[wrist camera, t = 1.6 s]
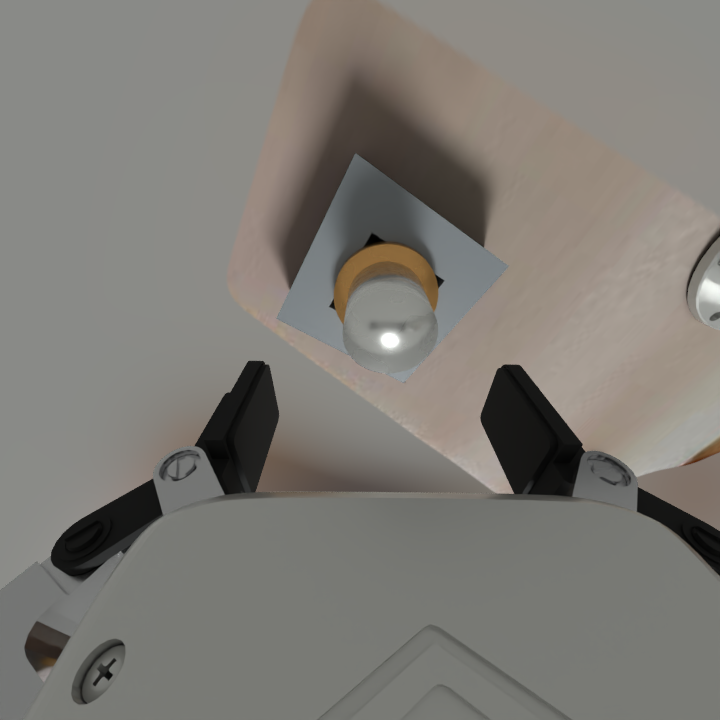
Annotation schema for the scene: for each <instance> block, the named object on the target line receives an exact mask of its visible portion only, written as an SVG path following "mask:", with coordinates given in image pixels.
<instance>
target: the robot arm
mask: <svg viewBox="0 0 720 720" xmlns="http://www.w3.org/2000/svg"><path fill="white" fill-rule="evenodd" d="M687 301H688V306H689V310H690V311H691V313H692V315H693V316H694V317H695V318H696V319H697V320H699V321H700V322H701V323H703V324H705V325H707V326H710V327H712V328H714V329H717V330H720V237H719V238H718V239H717V240H716V241H715V242H714V243H713V244H712V245H711V247H710V248H709V250H708V251H707V252H706V254H705V255H704V256H703V258H702V259H701V261H700V262H699V264H698V266H697V268H696V270H695V272H694V273H693V276H692V279H691V282H690V285H689V288H688V297H687ZM278 418H279V410H278V406H277V401H276V396H275V391H274V386H273V381H272V376H271V371H270V367H269V365H265V363H264V362H263V361H248V363H247V364H246V366H245V368H244V369H243V371H242V373H241V375H240V377H239V378H238V381H237V382H236V384H235V385H234V387H233V389H232V391H231V392H230V393H226V394H225V395H224V397H223V398H222V400H221V402H220V403H219V405H218V407H217V408H216V410H215V412H214V413H213V415H212V417H211V419H210V420H209V422H208V424H207V425H206V427H205V429H204V431H203V433H202V434H201V436H200V438H199V439H198V441H197V443H196V444H195V446H187V447H182V448H179V449H176V450H174V451H172V452H171V453H169V454H167V455H166V456H165V457H164V458H162V459H161V460H160V462H159V463H158V464H157V465H156V467H155V470H154V472H153V479H151V480H150V481H148V482H146V483H144V484H143V485H141V486H139V487H137V488H135V489H134V490H132V491H130V492H129V493H127V494H125V495H123V496H121V497H119V498H118V499H116V500H114V501H112V502H110V503H109V504H107V505H105V506H104V507H102V508H100V509H98V510H96V511H94V512H93V513H91V514H89V515H87V516H86V517H84V518H82V519H81V520H79V521H78V522H76V523H75V524H73V525H72V526H71V527H70V528H69V529H67V530H66V531H65V532H64V533H63V534H62V536H61V537H60V538H59V539H58V540H57V542H56V543H55V546H54V547H53V549H52V552H51V556H50V557H49V558H48V559H46V560H45V561H44V562H43V563H41V564H39V563H38V562H35V563H34V564H33V565H32V566H30V567H29V568H28V569H26V570H25V571H24V572H23V573H21V574H20V575H19V576H17V577H16V578H15V579H14V580H13V581H11V582H10V583H9V584H7V585H6V586H5V587H4V588H2V589H1V590H0V720H720V531H718V530H717V529H715V528H714V527H712V526H710V525H709V524H707V523H705V522H703V521H701V520H699V519H697V518H695V517H693V516H692V515H690V514H688V513H686V512H684V511H682V510H680V509H678V508H677V507H675V506H673V505H671V504H669V503H667V502H665V501H663V500H661V499H659V498H657V497H656V496H654V495H652V494H650V493H648V492H646V491H644V490H642V489H640V488H639V487H638V482H637V478H636V476H635V475H634V473H633V472H632V470H631V469H630V468H629V467H628V466H627V465H625V464H624V463H623V462H621V461H620V460H619V459H617V458H615V457H613V456H611V455H609V454H606V453H603V452H599V451H588V452H585V451H584V449H583V448H582V445H583V444H582V443H581V442H580V440H579V439H578V438H577V437H576V435H575V434H574V433H573V432H572V430H571V429H570V428H569V426H568V425H567V424H566V423H565V421H564V420H563V419H562V418H561V416H560V415H559V414H558V413H557V411H556V410H555V409H554V407H553V406H552V405H551V404H550V402H549V401H548V400H547V399H546V397H545V396H544V395H543V393H542V392H541V391H540V390H539V388H538V387H537V386H536V385H535V383H534V382H533V381H532V380H531V378H530V377H529V376H528V374H527V373H526V372H525V371H524V369H523V368H522V367H521V366H520V365H503V366H502V367H501V368H498V370H497V372H496V374H495V377H494V380H493V383H492V385H491V388H490V391H489V394H488V396H487V399H486V402H485V405H484V407H483V410H482V413H481V423H482V425H483V427H484V429H485V432H486V434H487V436H488V438H489V440H490V442H491V445H492V447H493V449H494V451H495V453H496V455H497V457H498V460H499V462H500V464H501V466H502V468H503V470H504V472H505V475H506V477H507V479H508V481H509V483H510V485H511V488H512V490H513V492H514V494H484V493H481V494H480V493H411V492H400V493H399V492H255V491H256V489H257V485H258V482H259V479H260V476H261V473H262V469H263V466H264V463H265V460H266V457H267V454H268V451H269V448H270V444H271V441H272V438H273V435H274V432H275V428H276V426H277V423H278Z"/></svg>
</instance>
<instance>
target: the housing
mask: <svg viewBox="0 0 720 720" xmlns="http://www.w3.org/2000/svg"><path fill="white" fill-rule="evenodd" d="M383 241H391V242H398V243H402V244H405V245H408V246H410V247H412V248H413V249H415V250H417V251H418V252H419V253H420V254H421V255H422V256H423V257H424V258H425V259H426V260H427V262H428V263H429V265H430V266H431V268H432V270H433V272H434V274H435V276H436V279H437V283H438V302H437V306H436V309H435V311H434V314H435V317H436V319H437V324H438V337H437V341H436V344H435V346H434V348H433V350H434V349H435V348H436V346H437V345H438V344H439V343H440V342H441V341H442V340H443V339H444V338H445V337H446V335H447V334H448V333H449V332H450V331H451V330H452V329H453V328H454V327H455V325H456V324H457V323H458V322H459V321H460V320H461V319H462V318H463V317H464V315H465V314H466V313H467V312H468V311H469V310H470V309H471V308H472V307H473V305H474V304H475V303H476V302H477V301H478V300H479V299H480V298H481V297H482V295H483V294H484V293H485V292H486V291H487V290H488V289H489V288H490V287H491V286H492V284H493V283H494V282H495V281H496V280H497V279H498V278H499V277H500V276H501V274H502V273H503V272H504V271H505V270H506V269H507V268H508V267H509V266H508V265H507V264H505V263H504V262H502V261H501V260H500V259H498V258H497V257H496V256H494V255H493V254H492V253H490V252H489V251H488V250H486V249H485V248H484V247H482V246H481V245H480V244H478V243H477V242H476V241H474V240H473V239H472V238H470V237H469V236H467V235H466V234H465V233H463V232H462V231H461V230H459V229H458V228H457V227H455V226H454V225H453V224H451V223H450V222H448V221H447V220H446V219H444V218H443V217H442V216H440V215H439V214H438V213H436V212H435V211H434V210H432V209H431V208H430V207H428V206H427V205H425V204H424V203H423V202H421V201H420V200H419V199H417V198H416V197H415V196H413V195H412V194H411V193H409V192H408V191H406V190H405V189H404V188H402V187H401V186H400V185H398V184H397V183H396V182H394V181H393V180H392V179H390V178H389V177H388V176H386V175H385V174H383V173H382V172H381V171H379V170H378V169H377V168H375V167H374V166H373V165H371V164H370V163H369V162H367V161H366V160H364V159H363V158H362V157H360V156H359V155H358V154H356V153H355V155H354V157H353V159H352V161H351V163H350V165H349V167H348V169H347V172H346V174H345V176H344V178H343V180H342V182H341V184H340V186H339V188H338V190H337V193H336V195H335V197H334V199H333V201H332V203H331V205H330V207H329V209H328V211H327V213H326V216H325V218H324V220H323V222H322V224H321V226H320V228H319V230H318V232H317V234H316V237H315V239H314V241H313V243H312V245H311V247H310V249H309V251H308V253H307V255H306V257H305V260H304V262H303V264H302V266H301V268H300V270H299V272H298V274H297V276H296V278H295V281H294V283H293V285H292V287H291V289H290V291H289V293H288V295H287V297H286V299H285V301H284V304H283V306H282V308H281V310H280V312H279V314H278V316H277V318H276V319H278V320H280V321H282V322H284V323H286V324H288V325H290V326H292V327H294V328H296V329H298V330H300V331H302V332H304V333H306V334H308V335H310V336H312V337H314V338H316V339H318V340H320V341H322V342H324V343H326V344H328V345H330V346H332V347H333V348H335V349H337V350H339V351H341V352H343V353H345V354H347V355H349V354H348V352H347V350H346V348H345V345H344V342H343V335H342V334H343V324H342V322H341V321H340V319H339V317H338V315H337V312H336V309H335V305H334V288H335V283H336V280H337V277H338V274H339V272H340V270H341V268H342V266H343V264H344V263H345V262H346V260H347V259H348V258H349V257H350V256H351V255H352V254H353V253H355V252H356V251H358V250H359V249H361V248H363V247H365V246H367V245H369V244H372V243H376V242H383ZM433 350H432V351H433ZM432 351H431V352H432ZM349 356H350V355H349ZM422 362H423V361H422ZM422 362H421V363H422ZM421 363H420V364H421ZM420 364H418V365H417V366H415V367H413V368H411V369H409V370H406V371H403V372H398V373H385V374H387V375H389V376H391V377H393V378H395V379H397V380H399V381H401V382H403V383H404V382H405V381H406V380H407V379H408V378H409V376H410V375H411V374H412V373H413V372H414V371H415V370H416V369H417V368H418V366H419V365H420Z"/></svg>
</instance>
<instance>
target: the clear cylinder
mask: <svg viewBox="0 0 720 720" xmlns="http://www.w3.org/2000/svg"><path fill="white" fill-rule="evenodd" d="M437 302H438V283H437V279H436V276H435V274H434V272H433V270H432V268H431V266H430V265H429V263H428V262H427V260H426V259H425V258H424V257H423V256H422V255H421V254H420V253H419V252H418V251H417V250H415V249H413V248H412V247H410V246H408V245H405V244H402V243H398V242H391V241H383V242H376V243H372V244H369V245H367V246H365V247H363V248H361V249H359V250H358V251H356V252H355V253H353V254H352V255H351V256H350V257H349V258H348V259H347V260H346V262H345V263H344V264H343V266H342V268H341V270H340V272H339V274H338V277H337V280H336V283H335V288H334V305H335V309H336V312H337V315H338V317H339V319H340V321H341V322H342V324H343V334H342V335H343V342H344V345H345V348H346V350H347V352H348V354H349V355H350V356H351V358H352V359H353V360H354V361H355V362H356V363H358V364H359V365H360V366H362V367H364V368H366V369H368V370H371V371H374V372H378V373H398V372H403V371H406V370H409V369H411V368H413V367H415V366H417V365H418V364H420V363H421V362H422V361H424V360H425V359H426V358H427V357H428V355H429V354H430V353H431V351H432V350H433V348H434V346H435V344H436V341H437V337H438V324H437V319H436V317H435V314H434V311H435V309H436V306H437Z"/></svg>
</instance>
